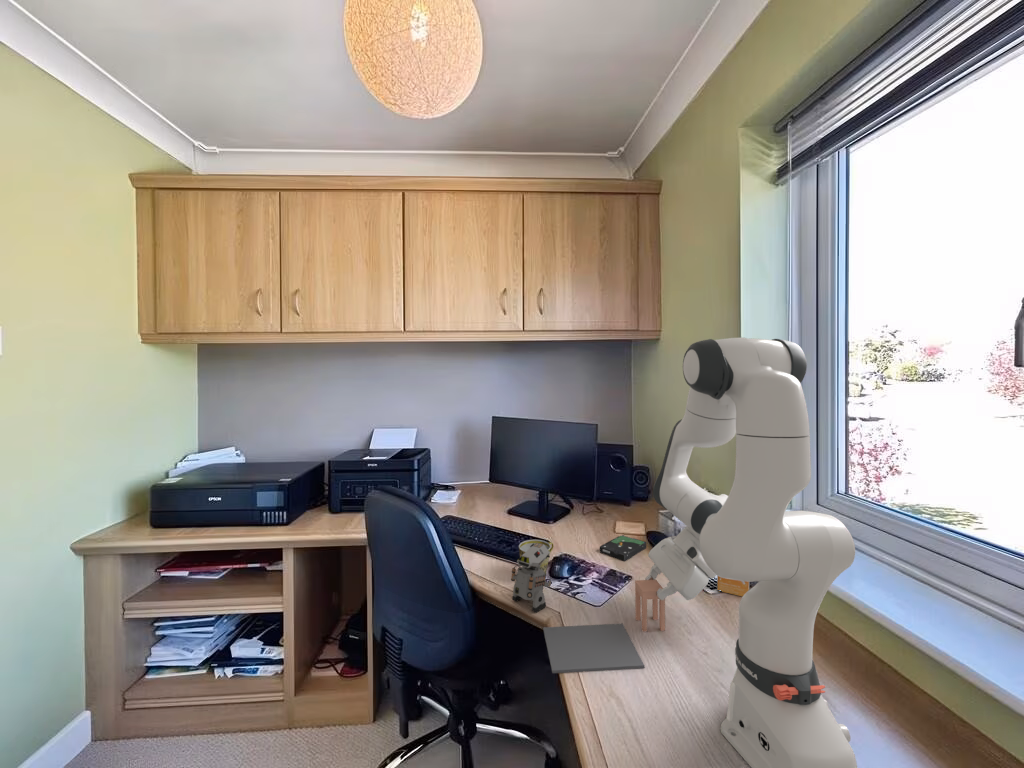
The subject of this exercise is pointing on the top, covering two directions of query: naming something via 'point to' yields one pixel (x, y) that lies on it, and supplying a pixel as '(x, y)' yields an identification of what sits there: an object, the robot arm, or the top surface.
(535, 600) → the figurine
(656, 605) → the miniature stool
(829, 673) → the top surface
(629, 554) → the disk drive
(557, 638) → the charcoal mat
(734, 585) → the small box
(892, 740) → the top surface
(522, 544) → the ceramic cup
